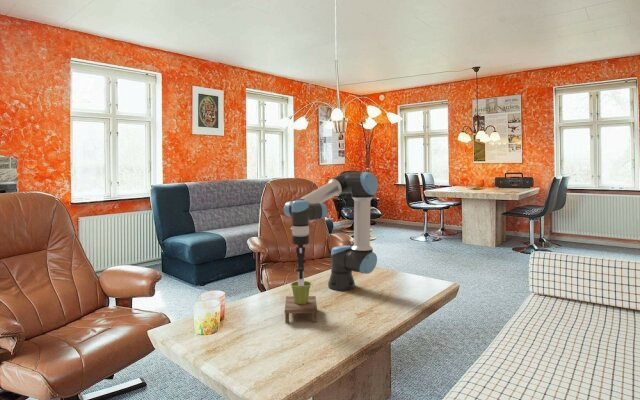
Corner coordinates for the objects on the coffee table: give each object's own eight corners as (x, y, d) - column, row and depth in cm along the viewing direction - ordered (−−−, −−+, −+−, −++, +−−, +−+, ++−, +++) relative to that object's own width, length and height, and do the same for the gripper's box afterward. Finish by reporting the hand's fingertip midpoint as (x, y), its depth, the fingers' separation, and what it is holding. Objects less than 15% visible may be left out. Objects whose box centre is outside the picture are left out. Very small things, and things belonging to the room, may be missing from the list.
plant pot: (286, 302, 182) (286, 283, 181) (301, 297, 189) (301, 279, 188) (300, 307, 176) (300, 288, 175) (315, 302, 182) (315, 283, 182)
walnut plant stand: (286, 308, 191) (286, 296, 191) (315, 308, 192) (315, 295, 191) (284, 323, 173) (284, 309, 173) (317, 322, 174) (317, 309, 174)
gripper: (292, 230, 192) (293, 274, 194) (291, 240, 167) (292, 289, 169) (308, 230, 192) (308, 273, 194) (309, 239, 167) (309, 289, 169)
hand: (301, 281), depth 181 cm, fingers open, 13 cm apart
